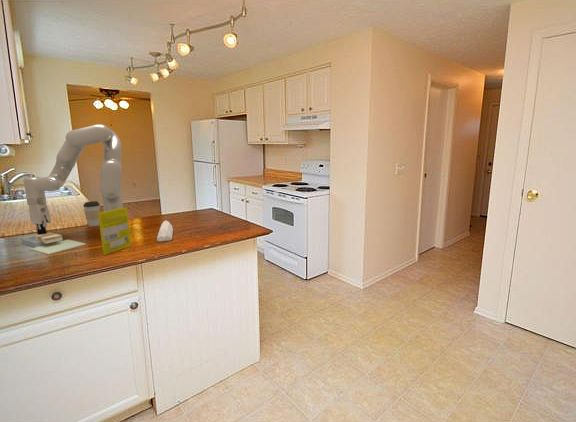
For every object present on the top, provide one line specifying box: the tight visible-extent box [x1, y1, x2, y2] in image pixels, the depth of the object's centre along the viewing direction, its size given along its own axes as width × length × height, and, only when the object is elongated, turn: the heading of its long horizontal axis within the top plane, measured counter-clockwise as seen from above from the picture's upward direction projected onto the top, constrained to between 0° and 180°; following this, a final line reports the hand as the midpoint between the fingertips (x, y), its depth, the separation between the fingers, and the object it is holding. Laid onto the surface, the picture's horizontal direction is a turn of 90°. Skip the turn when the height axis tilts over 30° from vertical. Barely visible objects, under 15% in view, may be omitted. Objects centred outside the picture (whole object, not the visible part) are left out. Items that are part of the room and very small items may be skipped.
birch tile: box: [35, 231, 63, 244], centre depth 155 cm, size 10×7×2 cm
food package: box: [98, 206, 132, 256], centre depth 146 cm, size 15×1×20 cm, turn 159°
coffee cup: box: [83, 200, 101, 227], centre depth 195 cm, size 9×9×15 cm
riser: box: [21, 235, 64, 248], centre depth 159 cm, size 14×12×2 cm
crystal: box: [156, 219, 174, 243], centre depth 172 cm, size 7×7×24 cm
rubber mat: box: [30, 239, 87, 255], centre depth 153 cm, size 16×17×1 cm
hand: (42, 236), depth 159 cm, fingers closed
